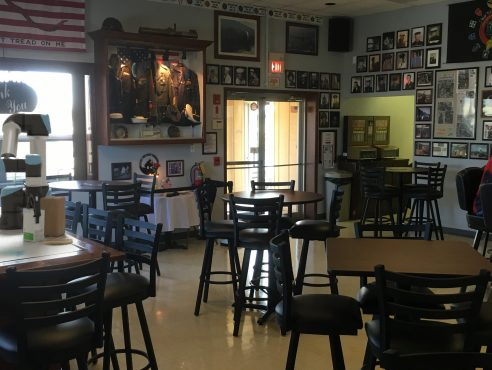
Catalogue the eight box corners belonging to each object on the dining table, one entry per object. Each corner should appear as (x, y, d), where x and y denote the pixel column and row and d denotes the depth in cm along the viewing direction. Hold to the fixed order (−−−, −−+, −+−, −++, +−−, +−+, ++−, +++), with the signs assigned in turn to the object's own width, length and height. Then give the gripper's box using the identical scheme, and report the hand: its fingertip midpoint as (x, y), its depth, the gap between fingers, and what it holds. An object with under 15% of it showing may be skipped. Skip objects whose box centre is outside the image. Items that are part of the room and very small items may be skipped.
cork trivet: (39, 241, 277) (39, 238, 277) (68, 238, 284) (68, 236, 284) (46, 246, 265) (46, 243, 265) (76, 243, 273) (76, 241, 272)
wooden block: (66, 233, 298) (66, 196, 296) (58, 237, 288) (57, 198, 287) (48, 232, 299) (47, 195, 297) (39, 236, 289) (39, 198, 287)
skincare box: (22, 240, 277) (22, 209, 276) (33, 238, 283) (33, 208, 282) (34, 242, 273) (34, 210, 272) (45, 240, 279) (44, 209, 278)
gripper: (20, 184, 284) (20, 225, 286) (31, 187, 263) (31, 232, 265) (35, 183, 288) (35, 224, 290) (47, 187, 267) (47, 231, 269)
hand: (33, 228), depth 277 cm, fingers open, 13 cm apart
